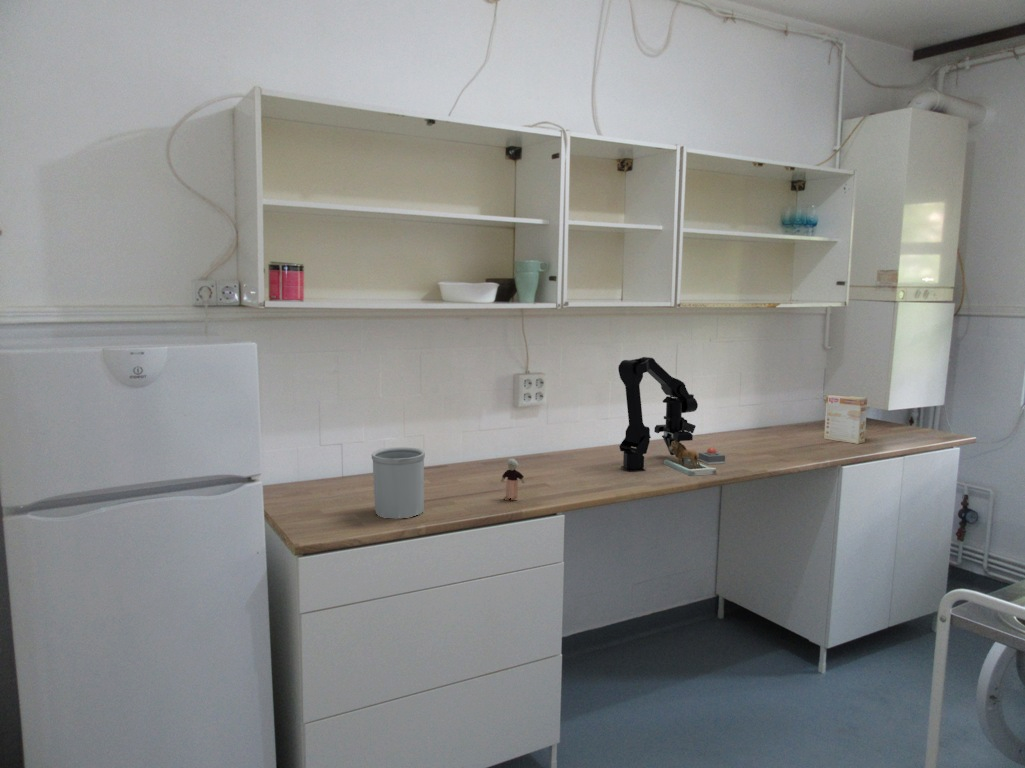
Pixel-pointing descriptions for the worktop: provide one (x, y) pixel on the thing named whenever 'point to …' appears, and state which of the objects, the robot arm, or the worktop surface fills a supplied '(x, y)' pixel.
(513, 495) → the grandmother figurine
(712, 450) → the dome plunger
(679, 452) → the lion figurine
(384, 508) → the utensil holder
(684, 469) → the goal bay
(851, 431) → the coffeecake box
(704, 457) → the button housing
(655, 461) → the worktop surface
